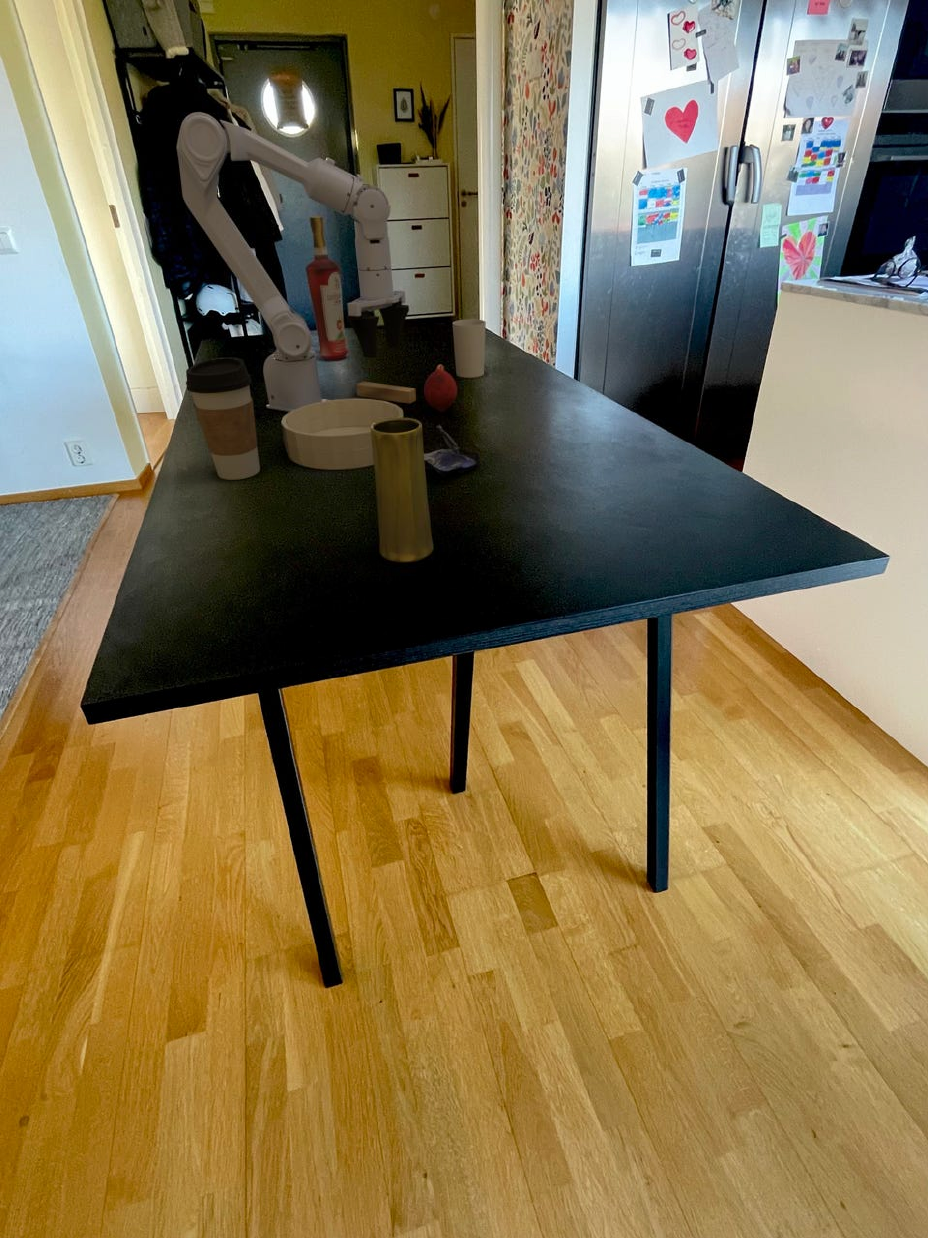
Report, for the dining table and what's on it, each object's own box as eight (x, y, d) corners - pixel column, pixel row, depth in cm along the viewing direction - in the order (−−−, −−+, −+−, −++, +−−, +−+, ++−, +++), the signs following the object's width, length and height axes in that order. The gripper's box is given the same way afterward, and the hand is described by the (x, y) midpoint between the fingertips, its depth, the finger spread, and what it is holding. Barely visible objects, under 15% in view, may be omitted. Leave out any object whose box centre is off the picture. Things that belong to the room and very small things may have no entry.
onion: (453, 417, 114) (452, 369, 110) (421, 416, 115) (418, 368, 111) (460, 407, 119) (459, 361, 115) (429, 406, 120) (427, 360, 116)
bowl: (262, 457, 101) (255, 425, 98) (337, 423, 114) (333, 393, 111) (358, 477, 93) (354, 443, 90) (427, 438, 106) (425, 406, 103)
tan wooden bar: (357, 396, 127) (355, 384, 126) (364, 393, 129) (362, 381, 127) (409, 403, 122) (408, 391, 121) (416, 400, 124) (415, 388, 122)
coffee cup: (280, 464, 98) (260, 358, 90) (247, 486, 91) (222, 373, 83) (232, 459, 100) (208, 355, 92) (196, 479, 94) (167, 370, 85)
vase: (380, 539, 77) (367, 417, 69) (432, 536, 78) (425, 414, 69) (378, 565, 72) (364, 436, 64) (435, 561, 72) (427, 433, 64)
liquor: (334, 353, 158) (316, 215, 142) (356, 356, 154) (341, 215, 138) (311, 359, 153) (290, 217, 137) (334, 363, 149) (315, 218, 134)
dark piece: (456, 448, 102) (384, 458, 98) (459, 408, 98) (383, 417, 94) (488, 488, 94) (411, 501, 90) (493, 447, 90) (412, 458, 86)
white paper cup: (486, 377, 136) (485, 325, 130) (453, 378, 136) (452, 326, 130) (486, 369, 141) (485, 318, 135) (454, 370, 141) (453, 319, 136)
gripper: (368, 274, 106) (377, 363, 114) (417, 264, 116) (422, 345, 124) (333, 273, 109) (344, 359, 117) (384, 262, 119) (391, 342, 127)
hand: (382, 352), depth 121 cm, fingers open, 7 cm apart
